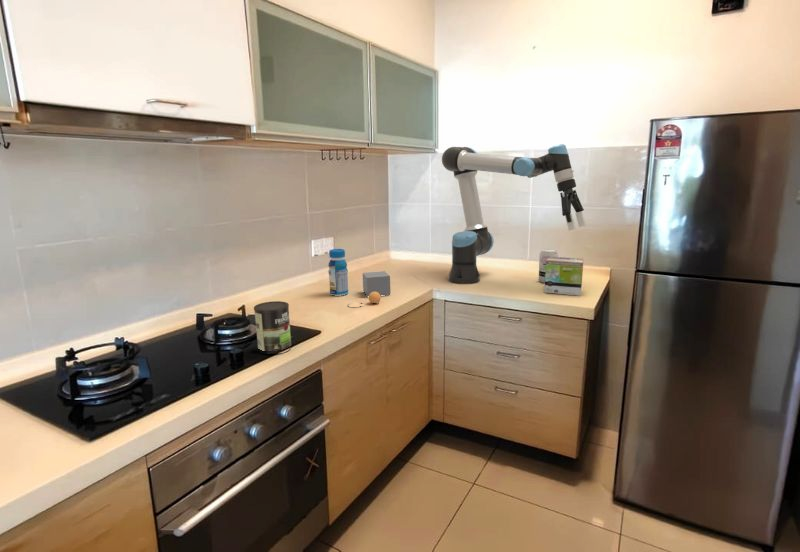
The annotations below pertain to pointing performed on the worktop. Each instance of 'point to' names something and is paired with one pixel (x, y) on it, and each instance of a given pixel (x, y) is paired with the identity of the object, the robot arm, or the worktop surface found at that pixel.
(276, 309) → the coffee can
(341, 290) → the beverage bottle
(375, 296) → the ball
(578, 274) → the tea box
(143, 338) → the worktop surface
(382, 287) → the gray rectangular box
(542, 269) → the white carton
